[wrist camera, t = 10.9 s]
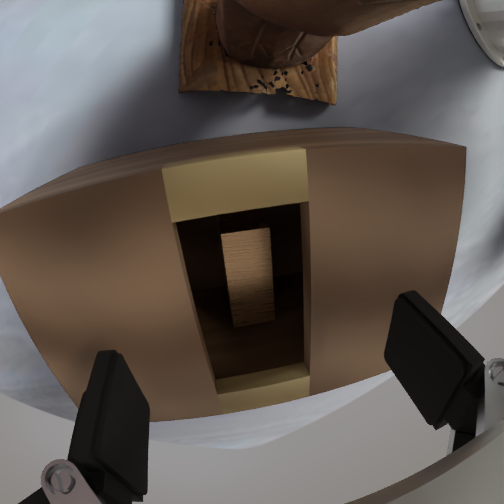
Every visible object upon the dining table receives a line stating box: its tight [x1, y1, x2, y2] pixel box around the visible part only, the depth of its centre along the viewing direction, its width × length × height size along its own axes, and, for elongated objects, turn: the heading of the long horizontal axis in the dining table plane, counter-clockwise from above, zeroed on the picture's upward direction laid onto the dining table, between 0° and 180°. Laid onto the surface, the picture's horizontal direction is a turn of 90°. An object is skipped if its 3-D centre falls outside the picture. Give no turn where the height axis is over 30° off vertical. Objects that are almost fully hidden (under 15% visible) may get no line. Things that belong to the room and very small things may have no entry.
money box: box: [0, 127, 466, 422], centre depth 17 cm, size 12×20×12 cm, turn 96°
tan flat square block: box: [216, 209, 275, 328], centre depth 19 cm, size 6×2×6 cm
